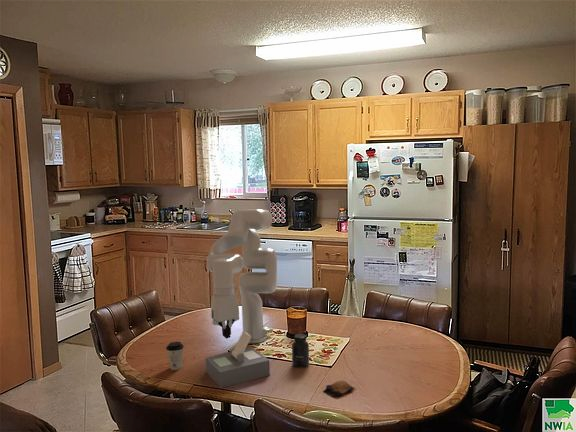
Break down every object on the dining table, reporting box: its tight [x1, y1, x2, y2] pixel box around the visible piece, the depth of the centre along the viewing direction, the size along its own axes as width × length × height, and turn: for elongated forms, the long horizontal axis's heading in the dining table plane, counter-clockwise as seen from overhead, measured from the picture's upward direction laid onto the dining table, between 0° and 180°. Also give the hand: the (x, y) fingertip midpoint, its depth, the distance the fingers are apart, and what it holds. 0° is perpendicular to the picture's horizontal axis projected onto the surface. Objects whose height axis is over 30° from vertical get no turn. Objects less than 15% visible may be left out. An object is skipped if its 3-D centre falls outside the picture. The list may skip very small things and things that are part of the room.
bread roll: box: [322, 380, 357, 399], centre depth 173 cm, size 11×8×4 cm
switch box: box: [205, 346, 271, 389], centre depth 189 cm, size 20×16×9 cm
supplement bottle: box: [291, 333, 310, 368], centre depth 196 cm, size 7×7×12 cm
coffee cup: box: [165, 341, 184, 371], centre depth 197 cm, size 7×7×10 cm
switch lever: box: [231, 330, 251, 359], centre depth 190 cm, size 2×5×10 cm
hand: (226, 336), depth 187 cm, fingers closed
